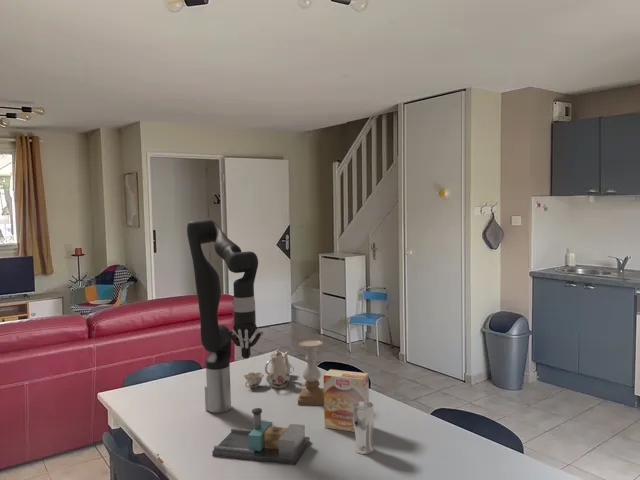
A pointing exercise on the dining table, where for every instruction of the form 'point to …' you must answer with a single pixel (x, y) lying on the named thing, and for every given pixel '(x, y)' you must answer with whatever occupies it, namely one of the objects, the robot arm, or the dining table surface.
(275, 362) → the chinaware
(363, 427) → the beer glass
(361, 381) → the coffeecake box
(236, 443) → the frame
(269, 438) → the block
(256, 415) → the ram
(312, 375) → the candle holder
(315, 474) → the dining table surface
